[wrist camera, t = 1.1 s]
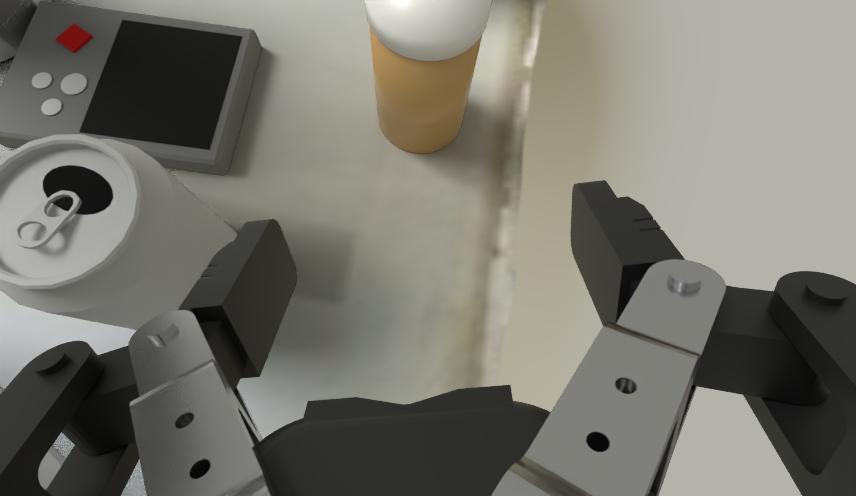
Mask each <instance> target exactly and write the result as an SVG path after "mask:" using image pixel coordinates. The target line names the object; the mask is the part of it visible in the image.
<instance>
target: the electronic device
mask: <svg viewBox="0 0 856 496" xmlns="http://www.w3.org/2000/svg"><path fill="white" fill-rule="evenodd" d="M261 51H262V47H261V44H260V42H259V40H258V37H257V35H256V33H255V32H254V30H251V29H244V28H236V27H229V26H222V25H215V24H208V23H201V22H193V21H186V20H179V19H172V18H165V17H157V16H150V15H143V14H136V13H129V12H122V11H114V10H107V9H100V8H93V7H86V6H78V5H71V4H64V3H57V2H50V1H40V2H39V4H38V6H37V9H36V11H35V13H34V15H33V17H32V19H31V22H30V24H29V26H28V28H27V30H26V33H25V35H24V37H23V39H22V41H21V44H20V46H19V48H18V50H17V52H16V55H15V57H14V59H13V61H12V63H11V66H10V68H9V70H8V72H7V74H6V76H5V79H4V81H3V83H2V85H1V87H0V144H1V145H3V146H7V147H14V148H19V147H21V146H22V145H24V144H26V143H28V142H30V141H34V140H37V139H41V138H45V137H48V136H52V135H57V134H83V135H86V136H90V137H94V138H97V139H112V140H115V141H119V142H122V143H126V144H130V145H133V146H136V147H137V148H139V149H140V150H142V151H143V152H145V153H146V154H148V155H149V156H150V157H152V158H153V159H155V160H156V161H157V162H159V163H160V164H161V165H162V166H163V167H164V168H171V169H179V170H186V171H194V172H201V173H209V174H216V175H226V174H227V173H228V172H229V168H230V165H231V161H232V157H233V154H234V150H235V146H236V143H237V139H238V135H239V132H240V128H241V124H242V121H243V117H244V113H245V110H246V106H247V102H248V99H249V95H250V91H251V88H252V84H253V80H254V77H255V73H256V69H257V66H258V62H259V58H260V55H261Z"/></svg>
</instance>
